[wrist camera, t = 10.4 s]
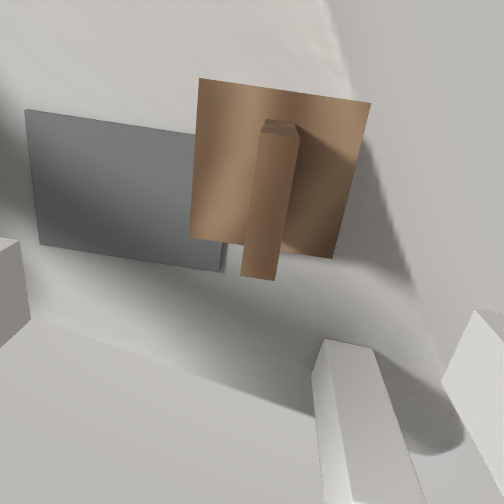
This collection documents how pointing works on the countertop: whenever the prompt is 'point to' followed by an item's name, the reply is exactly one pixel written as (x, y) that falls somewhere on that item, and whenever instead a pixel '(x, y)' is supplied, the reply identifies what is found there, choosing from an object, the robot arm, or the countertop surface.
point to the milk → (359, 431)
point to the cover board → (239, 159)
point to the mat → (115, 190)
